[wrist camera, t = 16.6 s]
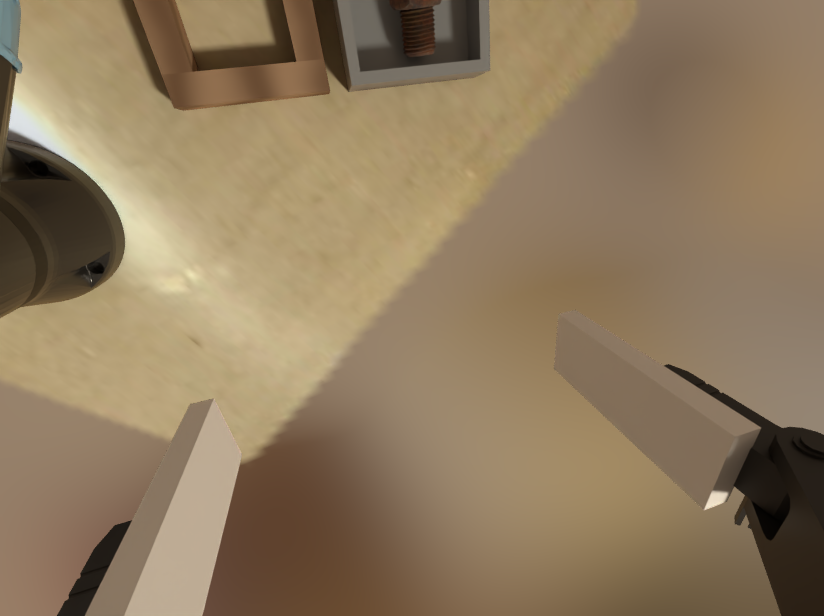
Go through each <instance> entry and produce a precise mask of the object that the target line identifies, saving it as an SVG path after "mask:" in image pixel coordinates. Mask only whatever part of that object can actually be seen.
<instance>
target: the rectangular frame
mask: <svg viewBox="0 0 824 616" xmlns="http://www.w3.org/2000/svg"><path fill="white" fill-rule="evenodd" d="M133 1H134V4H135V7H136V9H137V12H138V14H139V17H140V20H141V22H142V25H143V28H144V30H145V33H146V35H147V38H148V41H149V43H150V46H151V49H152V51H153V54H154V57H155V59H156V62H157V64H158V67H159V70H160V72H161V75H162V78H163V80H164V83H165V86H166V88H167V91H168V93H169V96H170V99H171V101H172V104H173V107H174V108H176V109H180V110H192V109H201V108H210V107H219V106H228V105H236V104H245V103H254V102H263V101H272V100H280V99H289V98H298V97H307V96H316V95H324V94H329V93H330V88H329V83H328V78H327V73H326V68H325V63H324V58H323V52H322V47H321V42H320V37H319V32H318V27H317V22H316V17H315V12H314V7H313V2H312V0H283V4H284V9H285V13H286V18H287V22H288V26H289V31H290V35H291V40H292V44H293V48H294V53H295V57H296V62H288V63H278V64H268V65H257V66H247V67H237V68H226V69H216V70H206V71H199V70H198V67H197V64H196V61H195V58H194V55H193V52H192V49H191V46H190V43H189V40H188V37H187V34H186V31H185V29H184V26H183V23H182V20H181V17H180V14H179V11H178V8H177V5H176V2H175V0H133Z"/></svg>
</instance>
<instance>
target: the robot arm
mask: <svg viewBox="0 0 824 616" xmlns="http://www.w3.org/2000/svg"><path fill="white" fill-rule="evenodd" d="M20 20H21V8H20V2H19V0H0V318H1V317H3V316H5V315H7V314H9V313H10V312H12V311H14V310H16V309H18V308H19V307H25V306H32V305H40V304H47V303H54V302H61V301H66V300H70V299H73V298H76V297H79V296H81V295H84V294H86V293H88V292H90V291H91V290H93V289H94V288H96V287H98V286H99V285H101V284H102V283H104V282H105V281H106V280H108V279H109V278H110V277H111V276H112V275H113V274H114V273H115V271H116V270H117V268H118V267H119V265H120V263H121V261H122V258H123V254H124V249H125V237H124V230H123V226H122V223H121V220H120V217H119V215H118V213H117V211H116V209H115V207H114V206H113V204H112V202H111V201H110V199H109V198H108V197H107V195H106V194H105V193H104V192H103V190H102V189H101V188H100V187H99V186H98V185H97V184H96V183H95V182H94V181H93V180H92V179H91V178H90V177H89V176H87V175H86V174H85V173H84V172H82V171H81V170H80V169H78V168H77V167H76V166H74V165H73V164H71V163H69V162H68V161H66V160H64V159H63V158H61V157H59V156H57V155H55V154H53V153H51V152H49V151H46V150H44V149H41V148H38V147H36V146H32V145H29V144H26V143H21V142H17V141H11V140H7V136H8V128H9V121H10V114H11V107H12V99H13V92H14V85H15V78H16V72H17V73H21V72H22V63H21V62H20V60H19V59H18V47H19V33H20ZM557 328H558V329H557V340H556V351H555V365H554V369H555V370H556V371H557V372H558V373H559V374H560V375H561V376H562V377H563V378H564V379H565V380H566V381H567V382H568V383H570V384H571V385H572V386H573V387H574V388H575V389H576V390H577V391H578V392H579V393H580V394H581V395H582V396H584V398H585V399H586V400H588V401H589V402H590V403H591V404H592V405H593V406H594V407H595V408H596V409H597V410H598V411H599V412H600V413H601V414H602V415H603V416H605V417H606V418H607V419H608V420H609V421H610V422H611V423H612V424H613V425H614V426H615V427H616V428H617V429H618V430H619V431H620V432H622V433H623V434H624V435H625V436H626V437H627V438H628V439H629V440H630V441H631V442H632V443H633V444H634V445H635V446H636V447H637V448H638V449H640V450H641V451H642V452H643V453H644V454H645V455H646V456H647V457H648V458H649V459H650V460H651V461H652V462H654V464H656V466H658V467H659V468H660V469H661V470H662V471H663V472H664V473H665V474H666V475H667V476H668V477H669V478H670V479H672V481H673V482H675V483H676V484H677V485H678V486H679V487H680V488H681V489H682V490H683V491H684V492H685V493H686V494H687V495H688V496H689V497H690V498H692V499H693V500H694V501H695V502H696V503H697V504H698V505H699V506H700V507H701V508H702V509H703V510H705V509H708V508H711V507H713V506H716V505H719V504H721V503H724V502H727V500H728V498H729V496H730V494H731V492H732V490H733V488H734V486H735V487H736V488H737V489H738V490H739V491H741V492H742V493H743V494H744V495H745V497H744V499H743V501H742V503H741V505H740V507H739V509H738V511H737V513H736V515H735V524H737V525H741V523H742V521H743V519H744V517H745V515H747V518H748V520H749V525H748V528H750V529H752V532H753V535H754V538H755V541H756V544H757V547H758V549H759V552H760V555H761V558H762V561H763V564H764V567H765V570H766V572H767V575H768V578H769V581H770V584H771V587H772V590H773V592H774V596H775V599H776V601H777V604H778V607H779V610H780V613H781V616H824V435H823V434H821V433H818V432H815V431H812V430H808V429H804V428H796V427H787V428H781V427H779V426H777V425H775V424H773V423H772V422H770V421H769V420H767V419H765V418H764V417H762V416H760V415H759V414H757V413H756V412H754V411H752V410H750V409H749V408H747V407H746V406H744V405H742V404H741V403H739V402H737V401H736V400H734V399H733V398H731V397H729V396H728V395H726V394H724V393H720V392H719V390H718V389H716V388H714V387H713V386H711V385H709V384H706V383H705V382H704V381H703V380H701V379H699V378H698V377H696V376H694V375H693V374H691V373H689V372H688V371H685V370H682V369H680V368H677V367H675V366H672V365H669V364H668V365H665V366H663V365H661V364H660V363H658V362H657V361H655V360H654V359H652V358H651V357H649V356H647V355H646V354H644V353H643V352H641V351H639V350H638V349H636V348H635V347H633V346H631V345H630V344H628V343H627V342H625V341H624V340H622V339H621V338H619V337H617V336H616V335H614V334H613V333H611V332H610V331H608V330H606V329H605V328H603V327H602V326H600V325H598V324H597V323H595V322H594V321H592V320H591V319H589V318H587V317H586V316H584V315H583V314H581V313H579V312H578V311H576V310H573V311H569V312H565V313H561V314H559V315H558V327H557ZM241 457H242V453H241V451H240V449H239V447H238V445H237V443H236V441H235V439H234V437H233V435H232V433H231V431H230V429H229V427H228V425H227V423H226V421H225V419H224V417H223V415H222V413H221V411H220V409H219V407H218V405H217V403H216V401H215V399H214V398H213V399H209V400H205V401H201V402H197V403H193V404H190V405H189V407H188V409H187V411H186V413H185V415H184V417H183V419H182V421H181V423H180V425H179V427H178V429H177V431H176V433H175V435H174V437H173V439H172V441H171V443H170V445H169V447H168V450H167V451H166V454H165V455H164V457H163V459H162V461H161V463H160V466H159V468H158V470H157V472H156V474H155V476H154V478H153V480H152V482H151V484H150V486H149V488H148V490H147V492H146V494H145V496H144V498H143V500H142V502H141V504H140V506H139V508H138V510H137V512H136V514H135V516H134V518H133V520H131V521H128V522H125V523H121V524H118V525H115V526H114V527H113V528H112V529H111V530H110V532H109V533H108V534H107V535H106V536H105V537H104V538H103V539H102V541H101V542H100V543H99V544H98V545H97V546H96V547H95V549H94V550H93V552H92V554H91V556H90V558H89V559H88V561H87V563H86V565H85V566H84V568H83V570H82V572H81V577H80V578H79V579H77V581H76V583H75V584H74V586H73V588H72V590H71V591H70V593H69V599H68V600H66V601H65V602H64V604H63V606H62V608H61V610H60V611H59V613H58V615H57V616H202V615H203V611H204V606H205V602H206V598H207V594H208V590H209V586H210V582H211V578H212V574H213V570H214V566H215V562H216V558H217V554H218V550H219V546H220V542H221V537H222V534H223V530H224V526H225V521H226V517H227V513H228V509H229V505H230V501H231V497H232V493H233V489H234V485H235V481H236V477H237V472H238V469H239V465H240V461H241Z"/></svg>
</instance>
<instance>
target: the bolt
mask: <svg viewBox="0 0 824 616" xmlns="http://www.w3.org/2000/svg"><path fill="white" fill-rule="evenodd" d="M441 1H442V0H389V3H390V6H391V7H392V9H393V10H401V11H400V13H401V14H402V15H401V17H400V18H401V19H402V21H401V23H402V26H401V27H402V28H403V30H402V32H403V35H402V37H404V38H403V40H402V41H404V43H403V46H405V47H404V48H403V49H404V50H405V51H404V54H405V55H406V56H407V57H418V56H424V55H432V54H433V53H434V49H435V48H436V46H435V43H436V42H435V41H434V40H435V39H436V38H435V37H434V35H435V33H434V30H435V28H434V25H435V24H434V23H433V22H434V21H435V19H434V18H433V17H434V16H435V15H434V14H433V12H434V11H435V10H434V9H433V7H434V6H435V5H439V4H440V3H441Z"/></svg>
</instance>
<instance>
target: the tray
mask: <svg viewBox="0 0 824 616" xmlns="http://www.w3.org/2000/svg"><path fill="white" fill-rule="evenodd" d="M332 1H333V7H334V12H335V18H336V24H337V29H338V35H339V41H340V46H341V52H342V58H343V63H344V69H345V75H346V80H347V86H348V92H351V91H360V90H368V89H377V88H386V87H395V86H404V85H412V84H421V83H430V82H439V81H448V80H457V79H465V78H474V77H476V76H479V75H481V74H483V73H485V72H488V71H490V32H489V0H442V1H441V3H440V4H439V5H435V6H434V7H433V9H434V10H435V11H434V12H433V14H434V15H435V16H434V17H433V18H434V19H435V21H434V22H433V23H434V24H435V25H434V28H435V30H434V33H435V35H434V37H435V38H436V39H435V40H434V41H435V42H436V43H435V46H436V48H435V49H434V53H433V54H432V55H424V56H418V57H407V56H406V55H405V54H404V51H405V50H404V49H403V48H404V47H405V46H403V43H404V41H402V40H403V38H404V37H402V35H403V32H402V30H403V28H402V27H401V26H402V23H401V21H402V19H401V18H400V17H401V15H402V14H401V13H400V11H401V10H393V9H392V7H391V6H390V3H389V0H332Z"/></svg>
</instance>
